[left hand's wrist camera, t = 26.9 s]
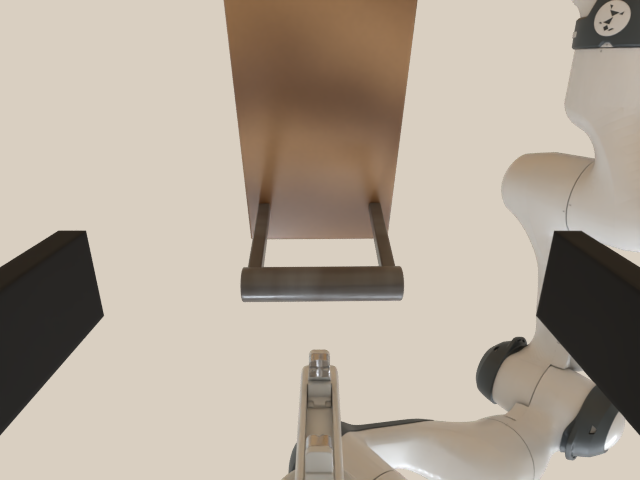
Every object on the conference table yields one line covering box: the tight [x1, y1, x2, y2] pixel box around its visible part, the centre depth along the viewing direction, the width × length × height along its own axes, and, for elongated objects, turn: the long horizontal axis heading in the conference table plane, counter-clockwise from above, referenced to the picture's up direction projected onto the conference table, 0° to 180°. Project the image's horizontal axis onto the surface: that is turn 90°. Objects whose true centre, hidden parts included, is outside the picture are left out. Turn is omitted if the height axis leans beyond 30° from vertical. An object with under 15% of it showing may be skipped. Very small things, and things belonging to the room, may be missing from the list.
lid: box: [224, 0, 417, 302], centre depth 20 cm, size 18×9×9 cm
